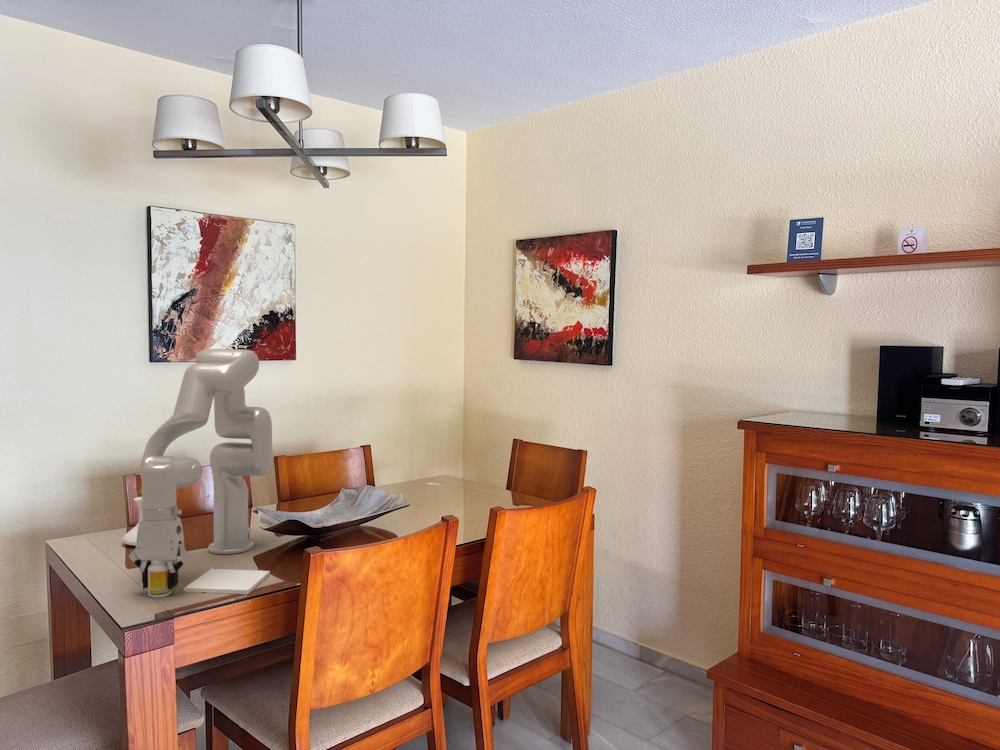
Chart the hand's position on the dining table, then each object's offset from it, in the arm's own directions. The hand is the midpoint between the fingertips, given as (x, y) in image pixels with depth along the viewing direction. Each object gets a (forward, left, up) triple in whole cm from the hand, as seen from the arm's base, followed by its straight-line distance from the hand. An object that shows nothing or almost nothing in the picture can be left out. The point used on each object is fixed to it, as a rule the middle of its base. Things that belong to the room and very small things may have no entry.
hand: (160, 586), depth 168 cm
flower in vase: (-40, -27, -2) cm, 48 cm away
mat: (-9, +13, -2) cm, 16 cm away
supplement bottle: (0, 0, -2) cm, 2 cm away
